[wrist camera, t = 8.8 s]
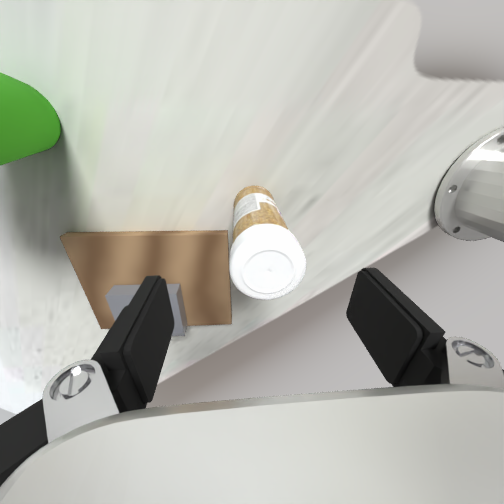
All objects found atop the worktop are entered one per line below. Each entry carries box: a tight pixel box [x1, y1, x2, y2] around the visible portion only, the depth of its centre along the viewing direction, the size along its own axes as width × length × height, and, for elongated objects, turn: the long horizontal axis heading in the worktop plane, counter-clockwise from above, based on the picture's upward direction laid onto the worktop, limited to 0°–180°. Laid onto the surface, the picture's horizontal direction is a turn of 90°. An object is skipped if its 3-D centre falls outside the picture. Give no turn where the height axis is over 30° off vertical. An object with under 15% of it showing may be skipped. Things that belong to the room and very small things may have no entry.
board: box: [60, 230, 232, 329], centre depth 28 cm, size 18×14×1 cm
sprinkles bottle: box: [229, 186, 306, 300], centre depth 18 cm, size 5×5×13 cm
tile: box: [105, 284, 187, 336], centre depth 28 cm, size 2×7×8 cm
